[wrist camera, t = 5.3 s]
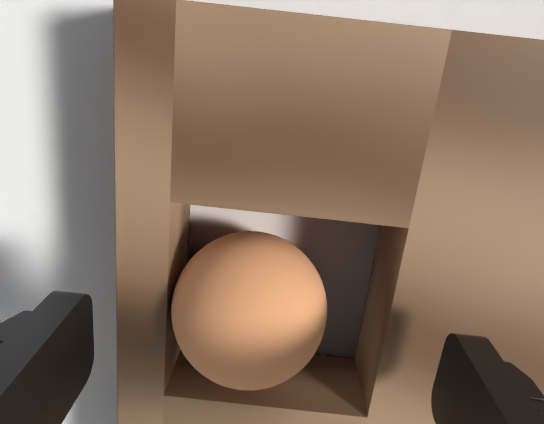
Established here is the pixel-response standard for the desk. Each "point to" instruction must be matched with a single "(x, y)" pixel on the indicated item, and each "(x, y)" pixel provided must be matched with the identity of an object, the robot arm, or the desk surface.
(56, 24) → the desk surface
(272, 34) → the wooden board with recess
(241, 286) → the ball
